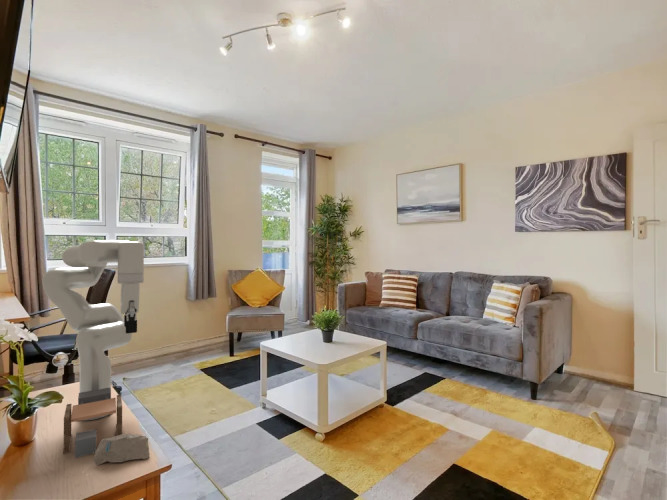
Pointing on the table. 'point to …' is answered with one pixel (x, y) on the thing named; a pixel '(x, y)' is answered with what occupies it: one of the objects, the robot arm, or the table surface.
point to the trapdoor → (93, 404)
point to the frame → (68, 424)
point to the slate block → (85, 443)
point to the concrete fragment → (122, 448)
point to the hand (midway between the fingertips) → (130, 329)
